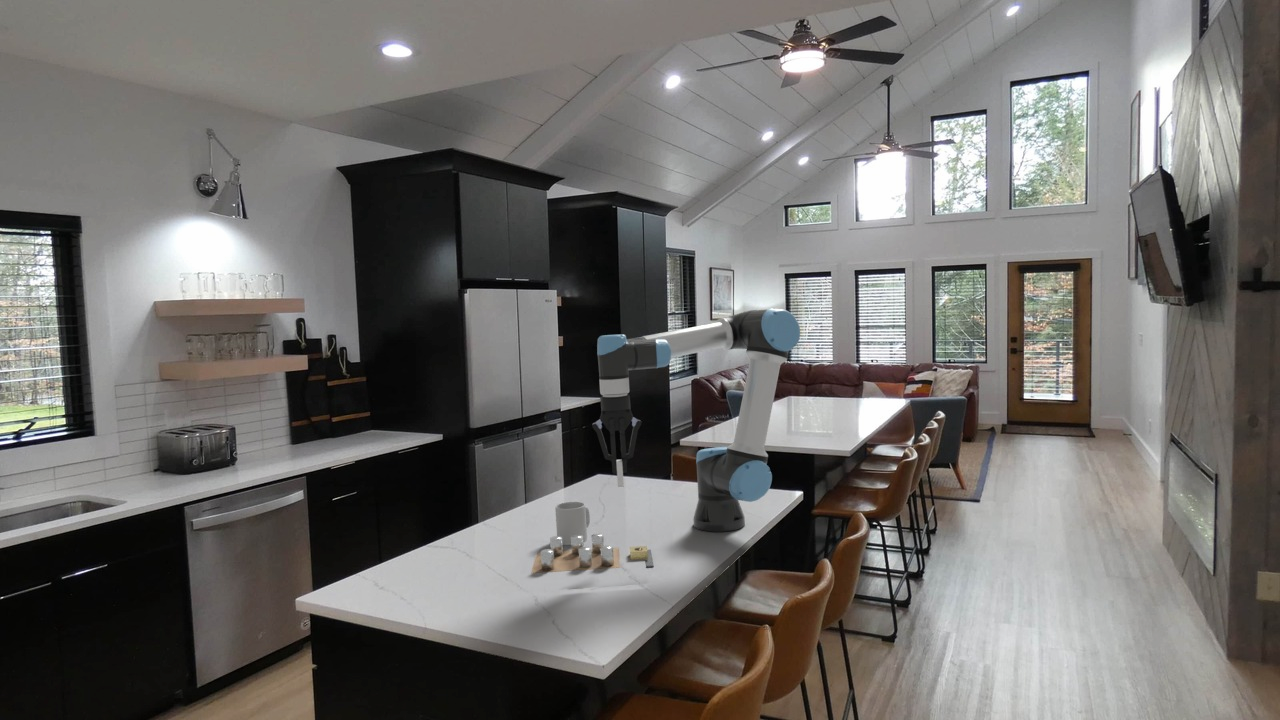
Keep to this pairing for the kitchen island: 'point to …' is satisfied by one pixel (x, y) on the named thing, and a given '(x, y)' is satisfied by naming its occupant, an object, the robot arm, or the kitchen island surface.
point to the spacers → (578, 551)
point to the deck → (574, 562)
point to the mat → (649, 560)
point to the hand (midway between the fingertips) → (620, 485)
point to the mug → (572, 521)
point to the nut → (639, 553)
